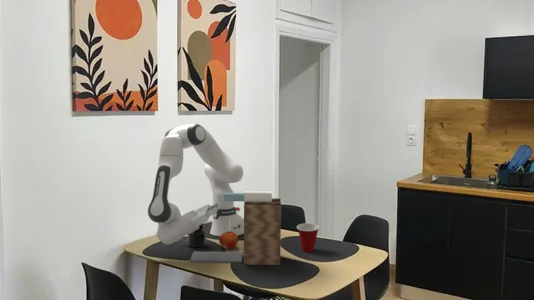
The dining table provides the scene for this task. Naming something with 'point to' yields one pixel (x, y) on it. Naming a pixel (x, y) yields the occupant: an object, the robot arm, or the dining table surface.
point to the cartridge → (249, 196)
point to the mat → (217, 257)
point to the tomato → (228, 240)
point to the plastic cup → (307, 236)
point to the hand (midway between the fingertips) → (217, 206)
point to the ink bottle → (197, 237)
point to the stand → (262, 232)
